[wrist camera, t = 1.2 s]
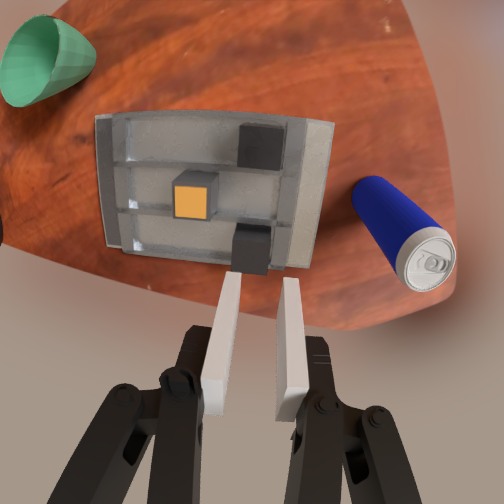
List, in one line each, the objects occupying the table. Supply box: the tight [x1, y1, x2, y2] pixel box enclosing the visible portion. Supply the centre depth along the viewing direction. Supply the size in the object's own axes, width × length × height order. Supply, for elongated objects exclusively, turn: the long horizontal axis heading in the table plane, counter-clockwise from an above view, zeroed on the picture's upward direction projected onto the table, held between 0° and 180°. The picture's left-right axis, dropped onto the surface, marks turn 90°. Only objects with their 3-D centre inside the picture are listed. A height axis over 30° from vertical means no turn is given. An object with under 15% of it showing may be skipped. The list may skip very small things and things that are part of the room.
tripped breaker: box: [172, 171, 219, 222], centre depth 28 cm, size 4×4×4 cm
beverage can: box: [352, 176, 456, 292], centre depth 24 cm, size 5×5×15 cm
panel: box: [95, 109, 335, 276], centre depth 29 cm, size 26×17×6 cm, turn 85°
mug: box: [0, 14, 96, 107], centre depth 19 cm, size 15×10×10 cm
